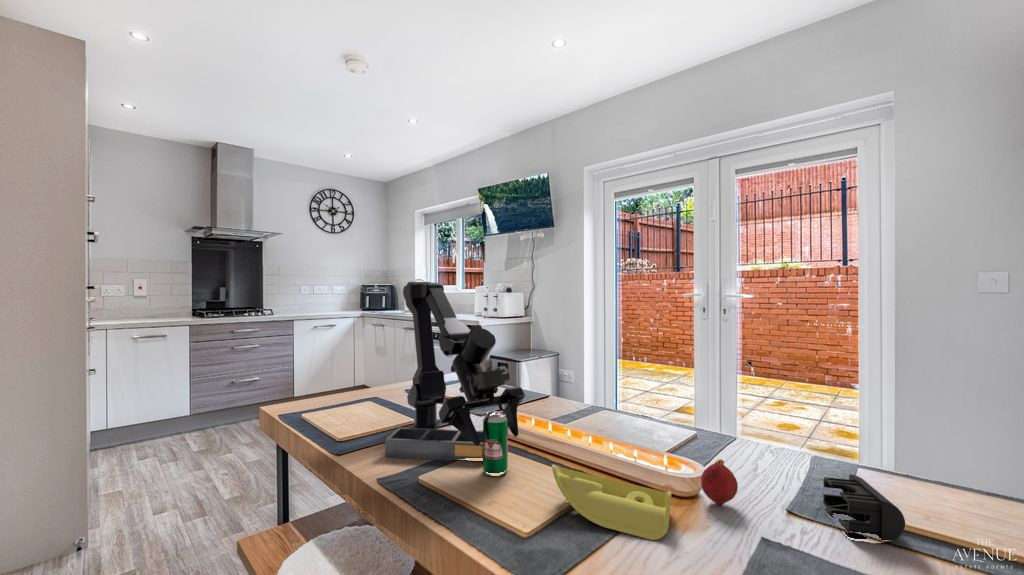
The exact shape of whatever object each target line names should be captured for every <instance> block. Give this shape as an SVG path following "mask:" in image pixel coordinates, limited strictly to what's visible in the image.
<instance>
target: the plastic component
mask: <svg viewBox="0 0 1024 575" xmlns="http://www.w3.org/2000/svg"><path fill="white" fill-rule="evenodd" d="M551 470H552V474H553V478H554V480H555V482H556V485H557V486H558V489H559V491H560V492H561V494H562V496H563V497H564V498H565V502H566V501H568V502H569V503H570V504H569V505H571V507H572V508H573V509H574V510H576V512H577V513H578V514H580V515H581V516H582V517H584V518H586V519H587V520H588V521H591V523H594V524H596V525H598V526H601V527H603V528H606V529H610V530H615V531H618V532H620V533H625V534H628V535H632V536H636V537H640V538H642V539H643V538H644V539H647V540H651V541H655V540H656V541H657V540H659V539H662V538H663V537H664V536H665V535H666V534H667V532H668V530H669V527H670V526H669V525H670V515H671V504H672V503H671V502H672V491H670V490H668V491H662V490H658V489H653V488H649V487H645V486H642V485H641V486H640V485H636V484H632V483H627V482H623V481H619V480H617V479H611V478H606V477H603V476H602V477H601V476H597V475H594V474H591V473H590V474H589V473H586V472H580V471H578V470H577V471H576V470H572V469H570V468H565V467H562V466H559V465H556V464H551Z"/></svg>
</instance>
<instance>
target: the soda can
mask: <svg viewBox="0 0 1024 575" xmlns="http://www.w3.org/2000/svg"><path fill="white" fill-rule="evenodd" d="M482 431H483V462H482V470H484V471H485V472H488V473H500V472H504V471H505V470H507V468H509V467H508V463H509V461H508V459H509V457H508V456H509V454H508V452H509V443H508V442H509V441H508V439H509V438H508V437H509V435H508V434H509V427H508V419H507V417H506V414H505V413H504V412H503V411H497V410H496V411H495V410H493V411H488V412H486V413H484V418H483V419H482ZM484 471H483V472H484ZM507 471H508V470H507Z"/></svg>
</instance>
